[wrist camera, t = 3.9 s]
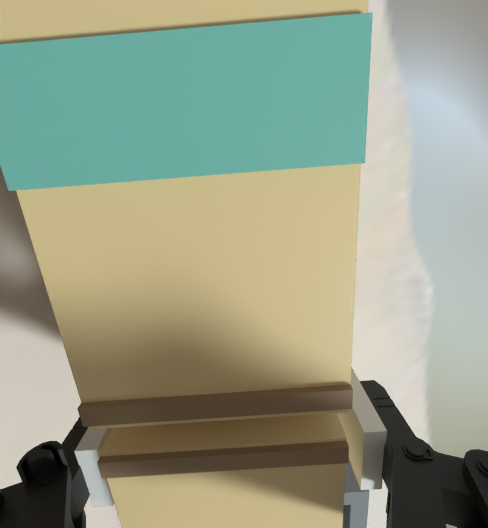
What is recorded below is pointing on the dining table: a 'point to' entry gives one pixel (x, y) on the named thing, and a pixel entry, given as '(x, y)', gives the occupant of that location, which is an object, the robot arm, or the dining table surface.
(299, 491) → the plain tan block
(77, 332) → the tan teal-banded block
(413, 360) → the dining table surface
